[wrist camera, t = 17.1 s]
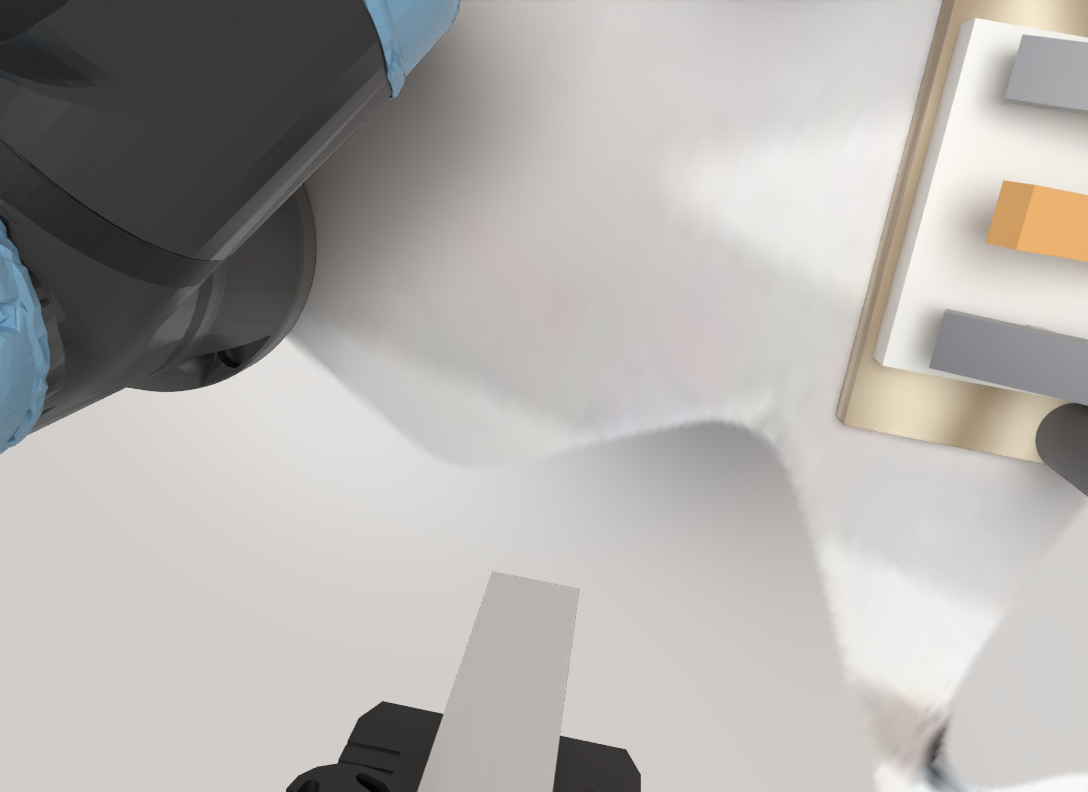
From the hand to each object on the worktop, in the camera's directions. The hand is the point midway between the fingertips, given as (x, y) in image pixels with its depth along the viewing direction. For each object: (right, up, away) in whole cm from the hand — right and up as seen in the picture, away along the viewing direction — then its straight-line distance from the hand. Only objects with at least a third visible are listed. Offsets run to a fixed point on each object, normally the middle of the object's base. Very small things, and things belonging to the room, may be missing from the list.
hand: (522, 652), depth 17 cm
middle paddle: (+22, +11, +23) cm, 34 cm away
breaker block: (+23, +12, +28) cm, 39 cm away
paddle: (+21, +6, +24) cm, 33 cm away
